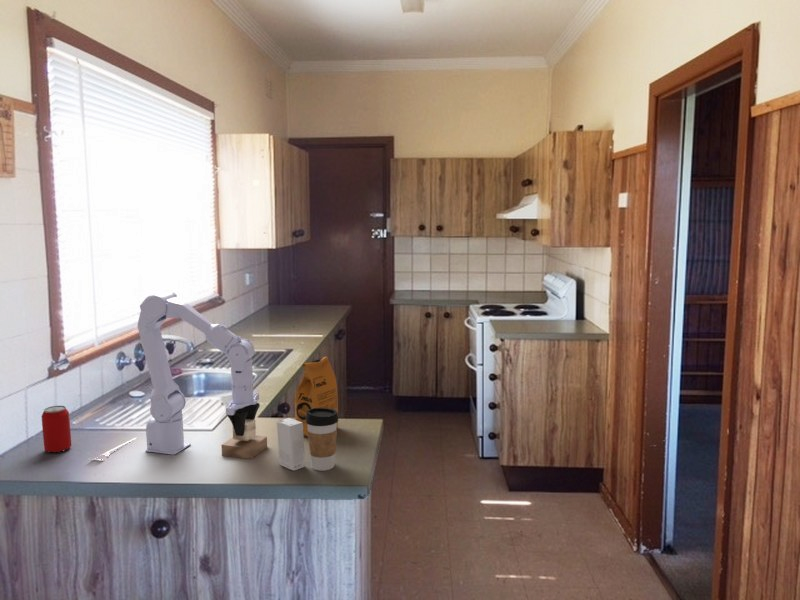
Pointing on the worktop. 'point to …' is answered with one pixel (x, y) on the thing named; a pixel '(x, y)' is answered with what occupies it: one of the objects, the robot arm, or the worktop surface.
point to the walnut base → (244, 447)
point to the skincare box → (291, 444)
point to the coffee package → (316, 390)
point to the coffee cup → (322, 437)
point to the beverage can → (56, 429)
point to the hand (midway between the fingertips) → (244, 432)
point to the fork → (112, 450)
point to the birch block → (247, 431)
